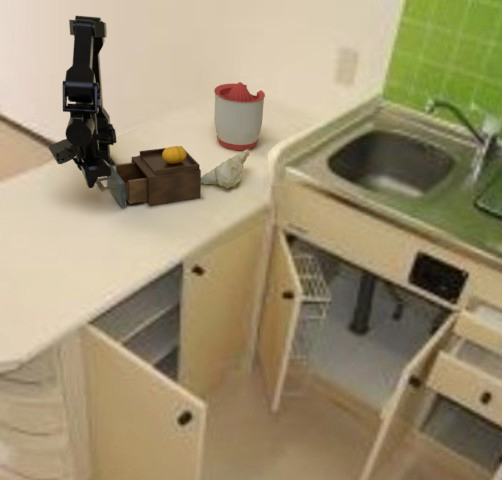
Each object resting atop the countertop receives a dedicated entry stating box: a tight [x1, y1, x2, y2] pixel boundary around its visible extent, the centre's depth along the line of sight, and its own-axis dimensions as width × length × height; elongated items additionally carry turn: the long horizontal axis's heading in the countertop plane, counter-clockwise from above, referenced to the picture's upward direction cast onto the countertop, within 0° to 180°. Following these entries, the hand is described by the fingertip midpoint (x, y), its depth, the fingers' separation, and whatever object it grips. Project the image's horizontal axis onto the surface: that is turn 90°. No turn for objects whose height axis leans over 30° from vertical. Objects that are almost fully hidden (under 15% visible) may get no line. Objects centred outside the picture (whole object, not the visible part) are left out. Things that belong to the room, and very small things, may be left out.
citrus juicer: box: [213, 81, 266, 152], centre depth 203 cm, size 16×17×20 cm
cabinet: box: [131, 155, 202, 207], centre depth 174 cm, size 14×13×8 cm
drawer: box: [95, 161, 149, 208], centre depth 169 cm, size 18×12×7 cm, turn 122°
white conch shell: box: [201, 149, 251, 189], centre depth 184 cm, size 15×7×15 cm
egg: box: [162, 145, 187, 164], centre depth 170 cm, size 6×4×4 cm
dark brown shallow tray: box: [139, 145, 200, 176], centre depth 172 cm, size 12×12×2 cm
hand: (90, 187), depth 164 cm, fingers closed
